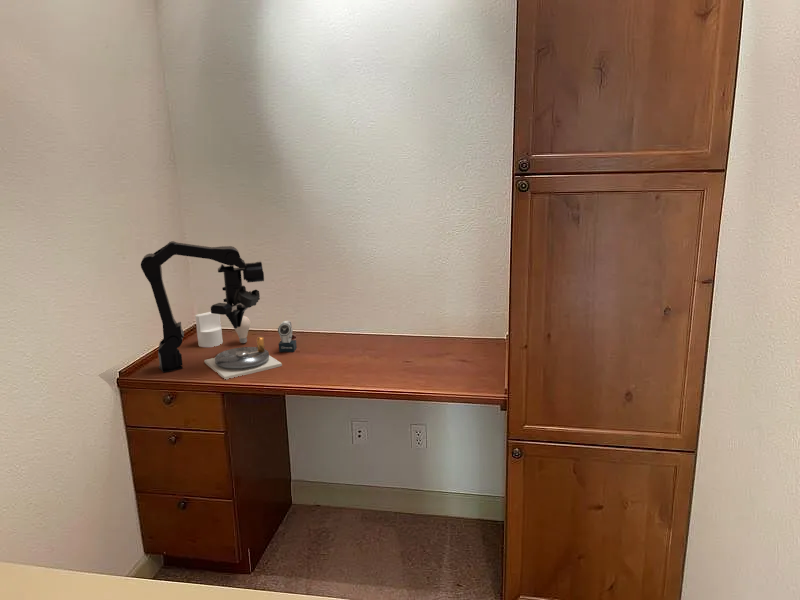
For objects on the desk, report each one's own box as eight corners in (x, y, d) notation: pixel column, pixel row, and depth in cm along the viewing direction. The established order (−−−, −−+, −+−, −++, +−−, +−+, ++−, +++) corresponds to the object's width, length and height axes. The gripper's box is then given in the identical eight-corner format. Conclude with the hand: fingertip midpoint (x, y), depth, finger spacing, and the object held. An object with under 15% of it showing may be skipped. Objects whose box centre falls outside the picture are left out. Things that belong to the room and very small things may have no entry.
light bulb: (254, 340, 234) (252, 313, 231) (248, 346, 228) (246, 318, 225) (238, 340, 235) (235, 313, 232) (232, 346, 228) (229, 318, 226)
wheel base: (225, 379, 195) (224, 375, 195) (204, 362, 211) (204, 358, 211) (281, 366, 207) (281, 361, 206) (258, 350, 222) (258, 347, 222)
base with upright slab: (204, 349, 226) (201, 318, 223) (194, 343, 232) (191, 313, 229) (226, 343, 232) (224, 313, 229) (216, 338, 238) (213, 309, 235)
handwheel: (226, 373, 196) (224, 354, 195) (207, 358, 210) (206, 340, 209) (277, 360, 206) (276, 342, 205) (256, 347, 221) (255, 330, 219)
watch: (277, 353, 219) (275, 324, 216) (283, 346, 227) (281, 318, 224) (292, 353, 219) (291, 324, 216) (298, 346, 226) (296, 318, 224)
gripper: (234, 291, 195) (238, 337, 199) (269, 279, 211) (272, 322, 215) (207, 289, 199) (212, 334, 203) (243, 277, 216) (247, 319, 220)
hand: (237, 327), depth 210 cm, fingers closed
